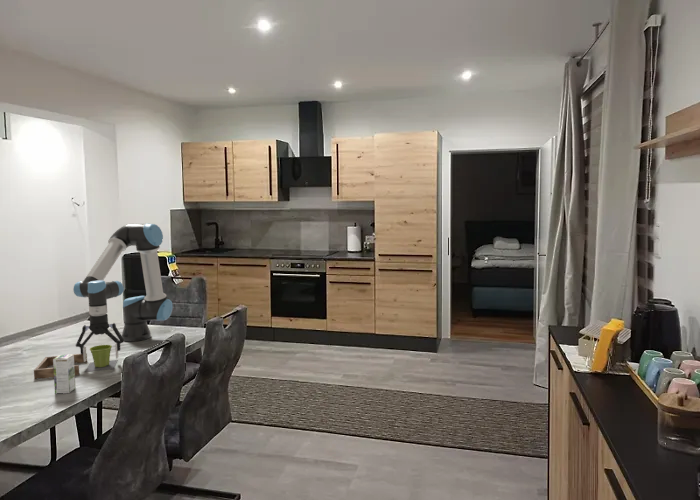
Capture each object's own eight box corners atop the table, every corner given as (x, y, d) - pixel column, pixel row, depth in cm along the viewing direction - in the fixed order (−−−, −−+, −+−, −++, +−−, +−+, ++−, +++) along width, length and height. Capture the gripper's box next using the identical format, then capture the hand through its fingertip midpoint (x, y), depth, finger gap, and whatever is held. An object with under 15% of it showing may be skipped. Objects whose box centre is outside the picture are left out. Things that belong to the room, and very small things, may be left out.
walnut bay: (87, 361, 250) (86, 353, 250) (79, 374, 231) (78, 365, 231) (46, 365, 245) (45, 357, 245) (34, 379, 226) (33, 370, 225)
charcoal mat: (117, 360, 251) (117, 359, 251) (113, 368, 238) (113, 368, 238) (90, 362, 248) (90, 362, 248) (84, 371, 234) (84, 371, 234)
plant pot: (91, 370, 237) (89, 351, 236) (90, 364, 245) (89, 346, 244) (113, 366, 241) (112, 348, 240) (112, 361, 249) (111, 343, 248)
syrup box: (61, 389, 213) (58, 354, 212) (76, 388, 214) (73, 353, 212) (54, 394, 208) (52, 358, 206) (70, 393, 208) (67, 358, 207)
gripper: (66, 318, 233) (69, 364, 235) (126, 313, 241) (129, 358, 243) (70, 314, 240) (73, 359, 242) (128, 310, 248) (131, 354, 250)
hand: (101, 359), depth 243 cm, fingers open, 13 cm apart
